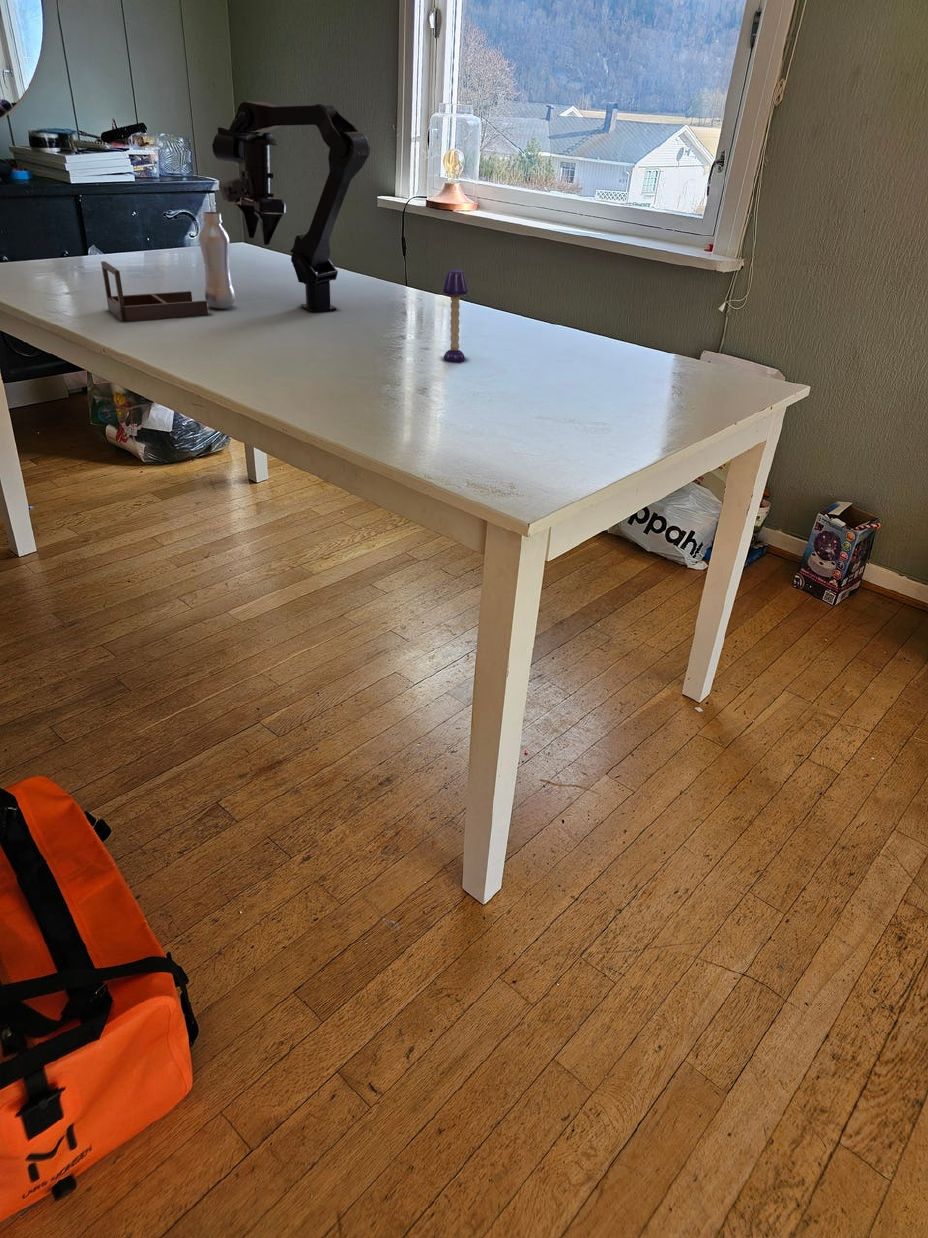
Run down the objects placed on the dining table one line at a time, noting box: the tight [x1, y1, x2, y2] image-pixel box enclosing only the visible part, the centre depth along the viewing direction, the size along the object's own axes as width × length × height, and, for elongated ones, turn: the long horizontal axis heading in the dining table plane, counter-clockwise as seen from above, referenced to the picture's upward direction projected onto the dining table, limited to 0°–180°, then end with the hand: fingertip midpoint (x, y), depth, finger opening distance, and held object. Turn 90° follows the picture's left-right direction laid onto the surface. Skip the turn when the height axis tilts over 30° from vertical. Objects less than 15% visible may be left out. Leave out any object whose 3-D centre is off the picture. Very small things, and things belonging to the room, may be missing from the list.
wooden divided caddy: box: [100, 260, 209, 323], centre depth 187 cm, size 11×19×10 cm, turn 124°
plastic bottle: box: [198, 211, 236, 310], centre depth 191 cm, size 6×7×20 cm
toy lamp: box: [442, 269, 468, 363], centre depth 166 cm, size 5×5×17 cm
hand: (258, 241), depth 200 cm, fingers open, 9 cm apart
